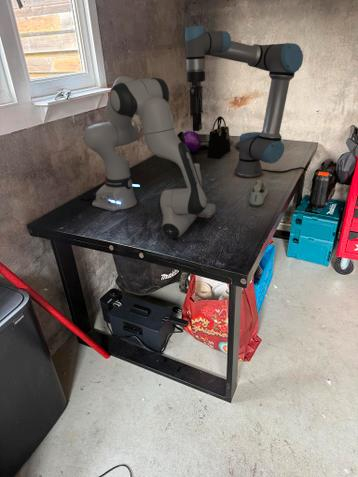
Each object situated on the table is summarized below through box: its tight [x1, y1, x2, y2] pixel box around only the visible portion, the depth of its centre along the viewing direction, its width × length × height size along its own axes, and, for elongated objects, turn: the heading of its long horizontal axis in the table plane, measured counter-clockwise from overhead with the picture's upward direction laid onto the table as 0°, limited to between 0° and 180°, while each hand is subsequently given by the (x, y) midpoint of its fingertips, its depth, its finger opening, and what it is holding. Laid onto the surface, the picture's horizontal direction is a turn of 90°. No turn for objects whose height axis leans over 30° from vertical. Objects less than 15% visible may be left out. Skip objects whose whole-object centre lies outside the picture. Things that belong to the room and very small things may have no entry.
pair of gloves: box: [199, 134, 234, 149], centre depth 251 cm, size 30×26×5 cm
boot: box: [176, 131, 194, 169], centre depth 209 cm, size 9×24×20 cm, turn 168°
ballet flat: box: [249, 179, 269, 207], centre depth 158 cm, size 8×24×8 cm, turn 163°
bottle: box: [194, 162, 203, 187], centre depth 143 cm, size 4×4×23 cm
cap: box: [191, 123, 203, 131], centre depth 146 cm, size 4×4×2 cm
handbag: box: [206, 115, 231, 159], centre depth 220 cm, size 21×9×25 cm, turn 148°
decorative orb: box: [183, 130, 201, 154], centre depth 230 cm, size 15×15×15 cm
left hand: (197, 200), depth 146 cm, fingers closed on bottle, 4 cm apart
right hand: (197, 129), depth 146 cm, fingers closed on cap, 4 cm apart
